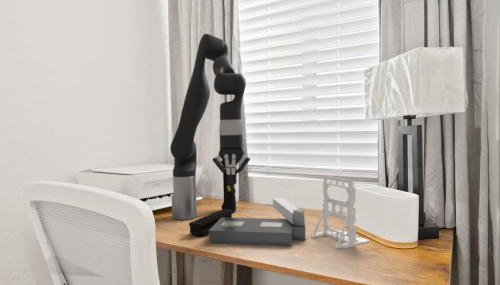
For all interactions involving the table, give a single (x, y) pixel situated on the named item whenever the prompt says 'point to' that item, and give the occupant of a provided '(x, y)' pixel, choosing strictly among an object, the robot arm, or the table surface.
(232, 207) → the portable radio
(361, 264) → the table surface
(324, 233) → the film strip holder
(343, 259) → the table surface
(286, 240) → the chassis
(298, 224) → the bar
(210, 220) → the rail mount
